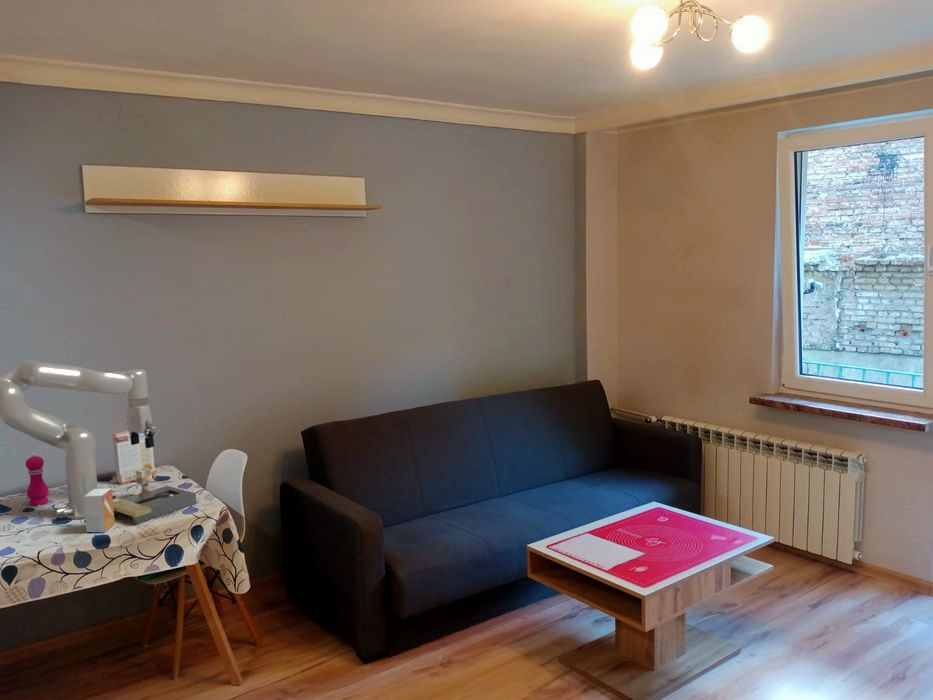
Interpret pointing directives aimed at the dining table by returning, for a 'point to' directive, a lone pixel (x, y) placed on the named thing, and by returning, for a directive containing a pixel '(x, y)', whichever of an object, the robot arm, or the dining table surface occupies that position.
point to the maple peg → (144, 478)
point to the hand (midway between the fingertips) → (142, 445)
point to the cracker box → (131, 456)
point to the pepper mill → (36, 481)
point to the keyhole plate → (154, 503)
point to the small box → (99, 510)
